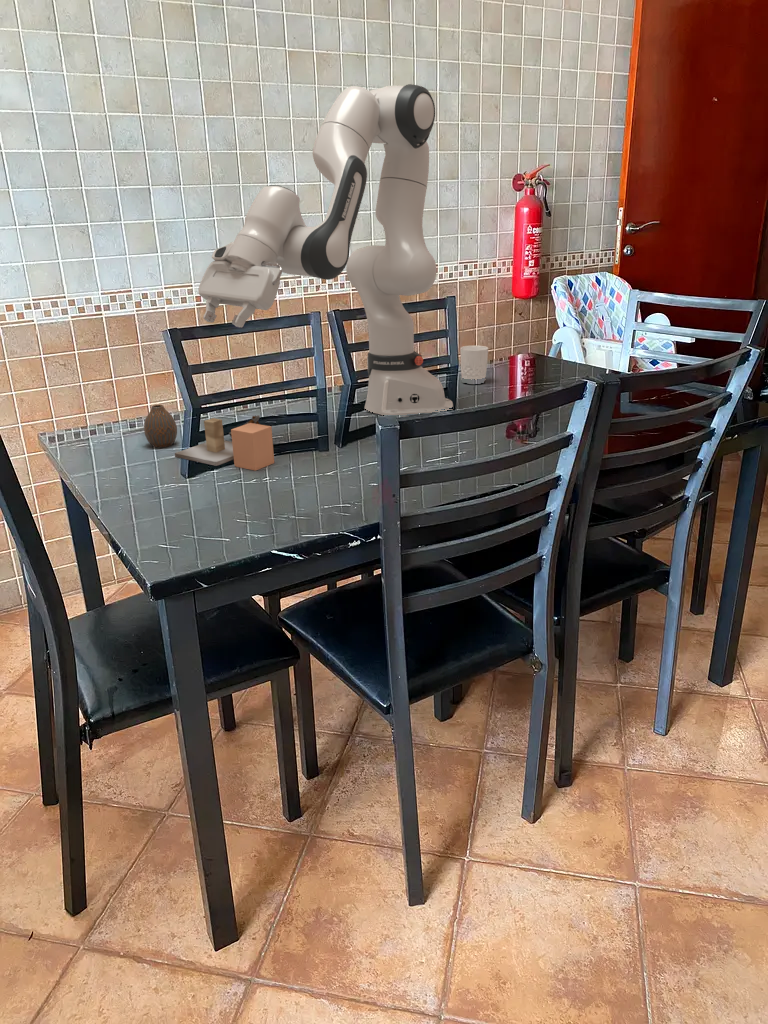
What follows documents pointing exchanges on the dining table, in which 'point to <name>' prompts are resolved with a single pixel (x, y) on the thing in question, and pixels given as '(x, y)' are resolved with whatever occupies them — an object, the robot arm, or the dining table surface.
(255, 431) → the tan cardboard cube
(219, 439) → the base with wooden post
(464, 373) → the white cup
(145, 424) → the vase
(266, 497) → the dining table surface
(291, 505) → the dining table surface
